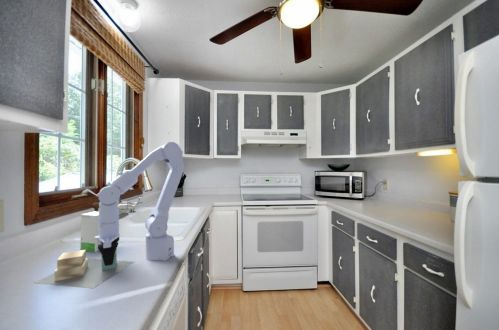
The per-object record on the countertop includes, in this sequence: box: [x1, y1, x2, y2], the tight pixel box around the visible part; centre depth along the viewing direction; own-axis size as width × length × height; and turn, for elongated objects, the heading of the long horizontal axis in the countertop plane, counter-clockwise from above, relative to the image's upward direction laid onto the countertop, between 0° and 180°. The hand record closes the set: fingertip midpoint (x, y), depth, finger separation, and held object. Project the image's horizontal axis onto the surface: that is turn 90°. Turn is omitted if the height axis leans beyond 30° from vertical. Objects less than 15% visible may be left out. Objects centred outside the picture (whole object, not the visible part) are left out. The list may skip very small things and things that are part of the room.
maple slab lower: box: [54, 257, 89, 281], centre depth 70 cm, size 7×7×3 cm
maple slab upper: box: [56, 249, 87, 270], centre depth 70 cm, size 6×6×3 cm
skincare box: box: [79, 210, 101, 253], centre depth 92 cm, size 8×7×16 cm
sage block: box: [101, 248, 118, 270], centre depth 75 cm, size 4×4×5 cm
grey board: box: [33, 258, 135, 289], centre depth 71 cm, size 20×17×1 cm
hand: (109, 262), depth 75 cm, fingers closed on sage block, 4 cm apart
